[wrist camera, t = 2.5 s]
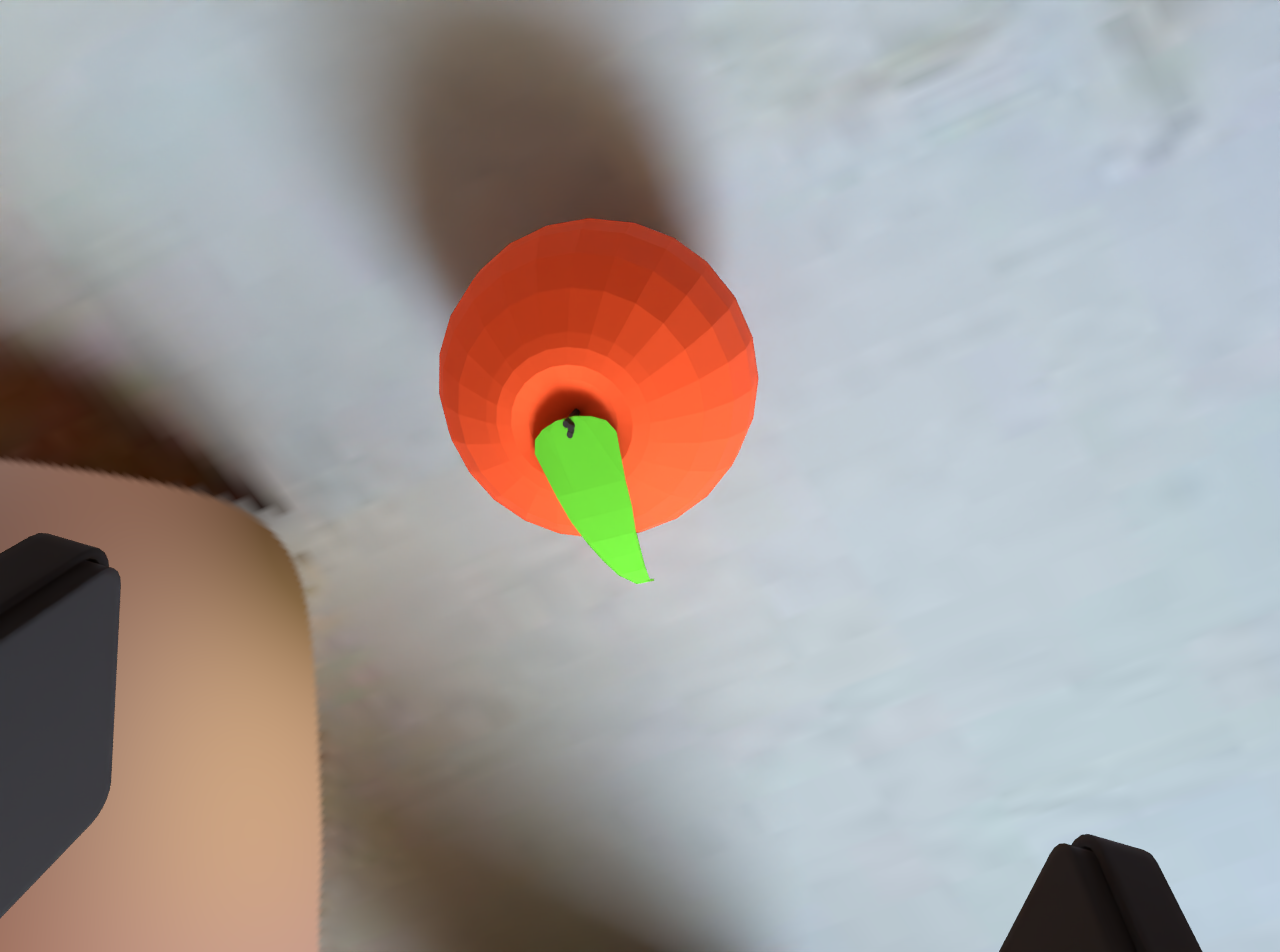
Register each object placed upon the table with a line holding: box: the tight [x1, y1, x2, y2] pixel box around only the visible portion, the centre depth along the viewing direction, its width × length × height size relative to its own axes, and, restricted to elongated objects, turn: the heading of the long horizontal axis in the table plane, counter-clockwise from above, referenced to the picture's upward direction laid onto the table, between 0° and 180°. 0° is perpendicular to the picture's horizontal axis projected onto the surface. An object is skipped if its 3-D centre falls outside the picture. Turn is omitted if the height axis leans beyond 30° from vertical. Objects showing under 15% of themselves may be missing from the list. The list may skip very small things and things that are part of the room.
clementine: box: [439, 218, 758, 584], centre depth 22 cm, size 8×7×7 cm
